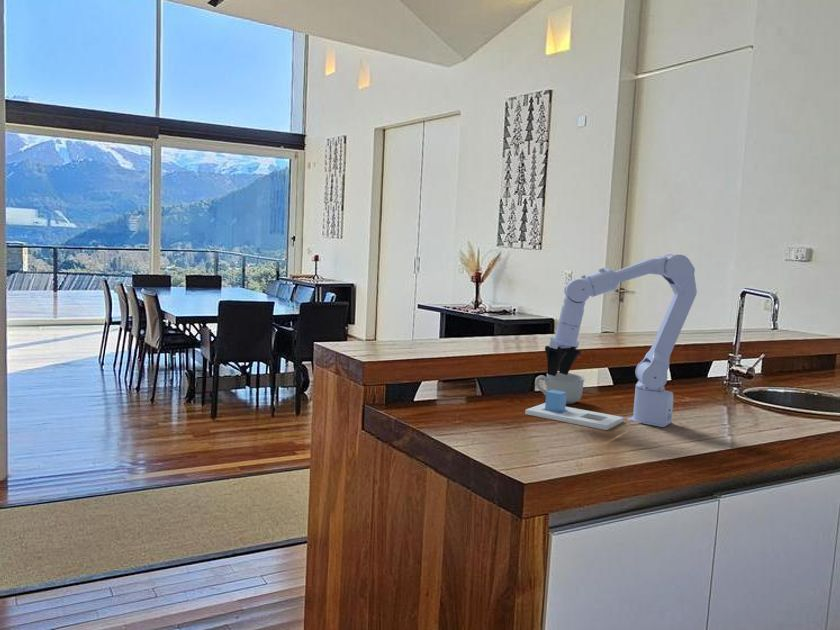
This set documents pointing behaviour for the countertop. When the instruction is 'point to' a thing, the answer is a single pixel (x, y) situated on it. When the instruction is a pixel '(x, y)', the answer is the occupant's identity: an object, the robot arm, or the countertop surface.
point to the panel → (577, 417)
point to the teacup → (563, 385)
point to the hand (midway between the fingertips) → (557, 374)
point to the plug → (555, 401)
